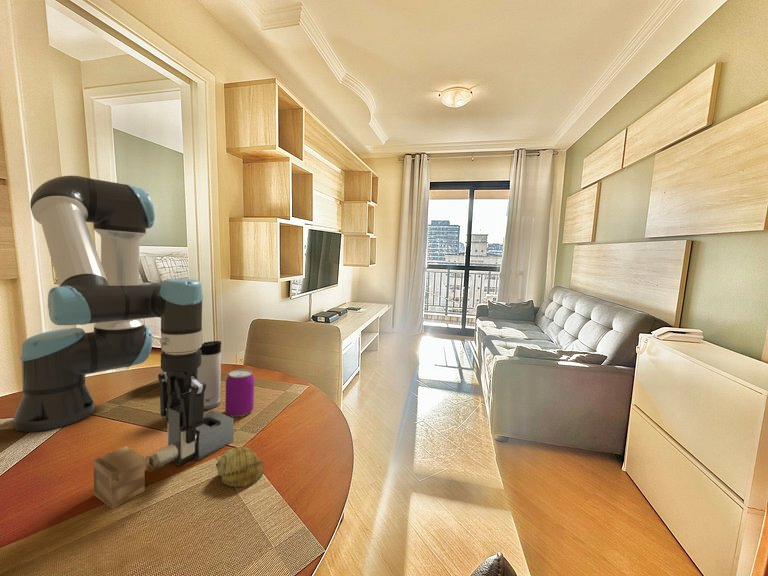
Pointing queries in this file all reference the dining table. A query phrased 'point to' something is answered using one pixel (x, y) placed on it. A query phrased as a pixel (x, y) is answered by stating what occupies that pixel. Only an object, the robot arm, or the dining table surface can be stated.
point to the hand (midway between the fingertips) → (181, 451)
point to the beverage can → (239, 392)
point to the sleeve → (213, 433)
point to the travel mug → (210, 373)
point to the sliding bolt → (170, 443)
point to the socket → (119, 476)
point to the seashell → (240, 467)
